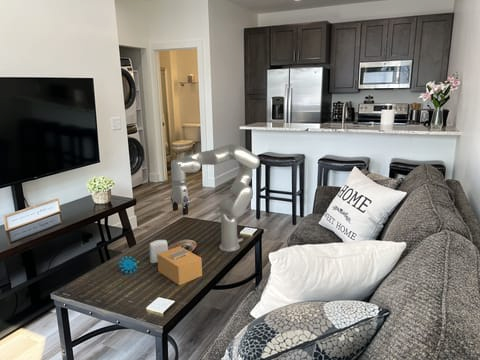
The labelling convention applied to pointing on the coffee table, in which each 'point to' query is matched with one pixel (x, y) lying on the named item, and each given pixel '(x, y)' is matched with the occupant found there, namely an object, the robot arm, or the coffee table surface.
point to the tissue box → (179, 266)
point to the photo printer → (157, 249)
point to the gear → (128, 264)
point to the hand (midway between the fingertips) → (180, 212)
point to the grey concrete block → (179, 254)
